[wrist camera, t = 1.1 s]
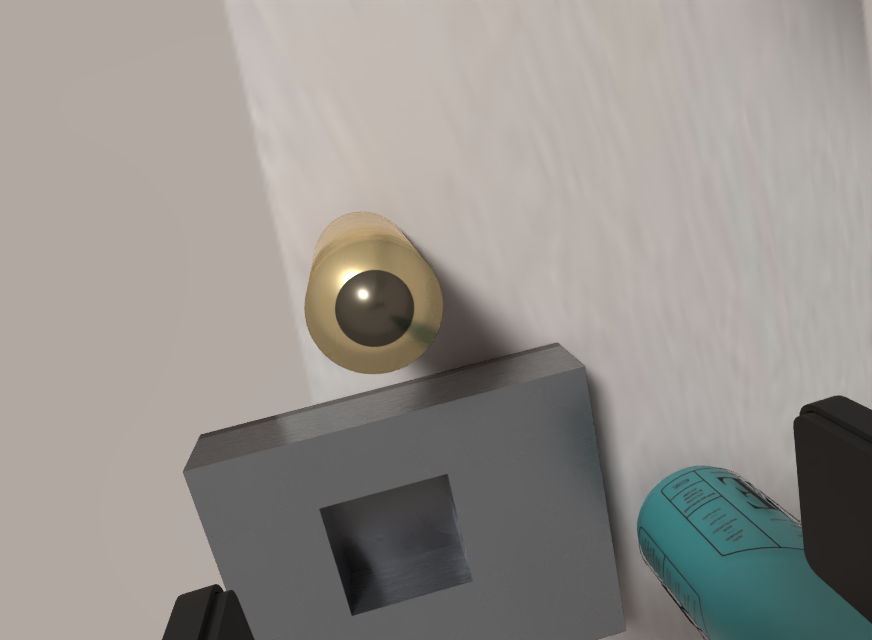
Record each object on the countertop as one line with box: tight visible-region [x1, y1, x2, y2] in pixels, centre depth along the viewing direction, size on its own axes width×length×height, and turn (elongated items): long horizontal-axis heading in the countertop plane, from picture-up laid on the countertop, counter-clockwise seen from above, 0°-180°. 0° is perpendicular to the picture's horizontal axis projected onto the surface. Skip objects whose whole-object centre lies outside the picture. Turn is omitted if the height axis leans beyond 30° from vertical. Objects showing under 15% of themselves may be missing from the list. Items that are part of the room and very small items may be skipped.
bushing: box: [305, 212, 443, 374], centre depth 24 cm, size 4×4×9 cm
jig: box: [183, 343, 626, 640], centre depth 30 cm, size 14×17×4 cm
